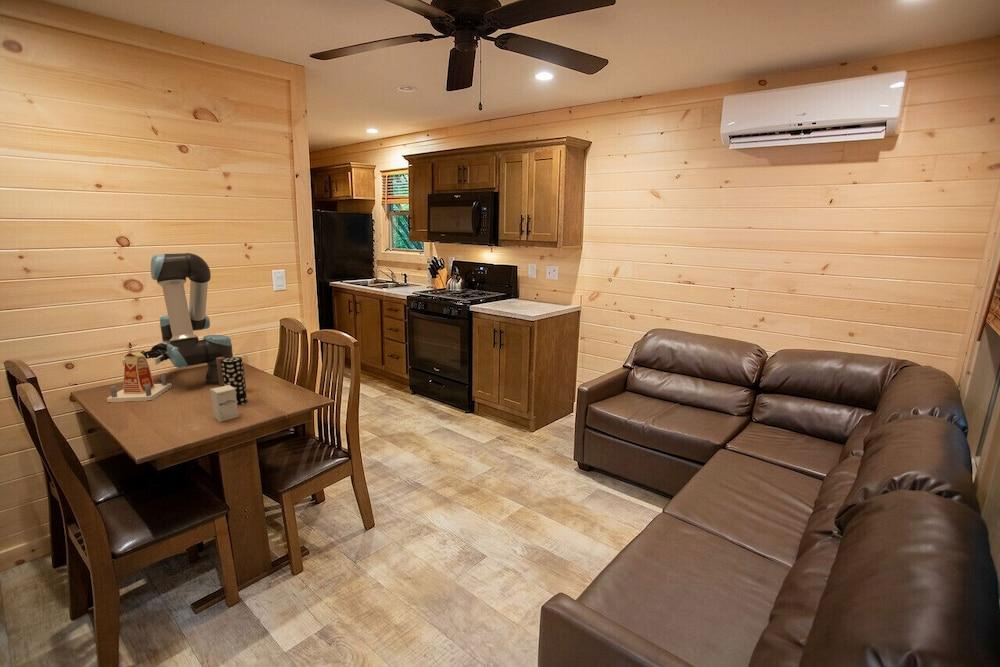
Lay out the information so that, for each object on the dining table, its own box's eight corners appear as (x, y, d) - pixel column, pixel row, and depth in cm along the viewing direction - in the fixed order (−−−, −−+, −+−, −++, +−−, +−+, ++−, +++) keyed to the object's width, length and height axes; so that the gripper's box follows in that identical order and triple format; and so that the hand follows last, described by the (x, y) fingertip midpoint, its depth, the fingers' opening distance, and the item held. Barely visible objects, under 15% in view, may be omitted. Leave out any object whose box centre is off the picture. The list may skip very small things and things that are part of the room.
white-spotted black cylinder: (238, 398, 223) (233, 356, 219) (251, 401, 220) (246, 358, 215) (221, 404, 216) (216, 360, 211) (234, 407, 212) (228, 363, 208)
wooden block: (246, 391, 232) (242, 355, 228) (221, 396, 224) (216, 359, 220) (244, 389, 234) (239, 353, 230) (219, 394, 227) (214, 357, 223)
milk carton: (143, 394, 221) (135, 351, 217) (122, 393, 221) (115, 351, 217) (156, 387, 230) (150, 346, 226) (137, 387, 230) (130, 346, 226)
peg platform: (171, 387, 236) (169, 373, 235) (152, 400, 219) (149, 386, 217) (131, 388, 234) (128, 374, 232) (107, 402, 216) (104, 387, 215)
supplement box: (219, 422, 197) (215, 393, 194) (213, 417, 202) (209, 388, 199) (239, 417, 202) (235, 388, 199) (232, 412, 207) (229, 384, 204)
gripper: (190, 356, 250) (170, 368, 229) (136, 358, 246) (111, 371, 225) (188, 342, 248) (167, 353, 227) (134, 343, 244) (108, 355, 223)
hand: (139, 362), depth 226 cm, fingers open, 13 cm apart
